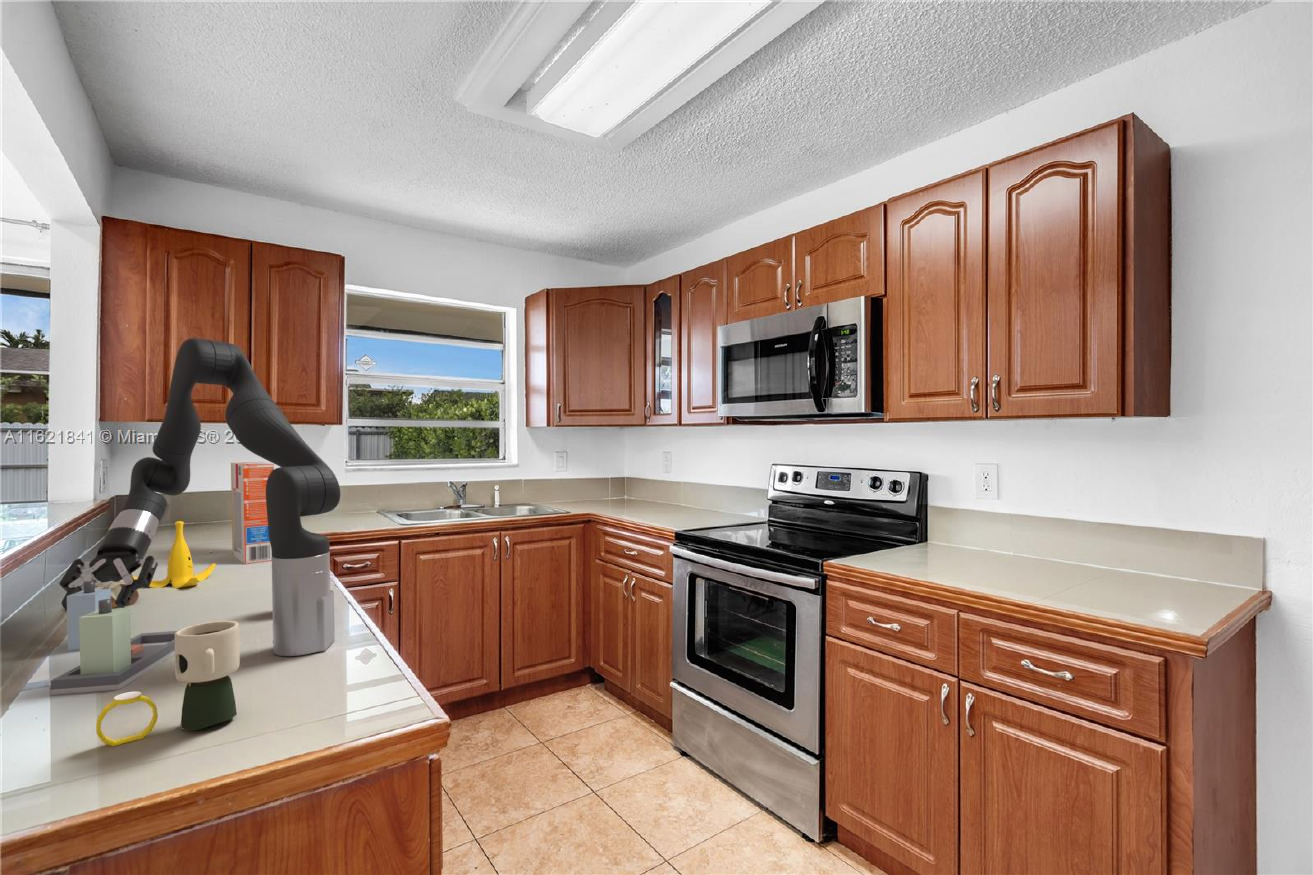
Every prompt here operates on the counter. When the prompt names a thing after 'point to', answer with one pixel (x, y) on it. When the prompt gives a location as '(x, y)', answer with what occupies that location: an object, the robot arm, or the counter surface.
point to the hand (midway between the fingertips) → (93, 607)
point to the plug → (82, 609)
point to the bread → (116, 590)
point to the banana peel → (181, 565)
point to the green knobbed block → (105, 639)
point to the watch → (122, 700)
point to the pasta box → (250, 512)
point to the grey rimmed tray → (144, 657)
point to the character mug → (207, 672)
